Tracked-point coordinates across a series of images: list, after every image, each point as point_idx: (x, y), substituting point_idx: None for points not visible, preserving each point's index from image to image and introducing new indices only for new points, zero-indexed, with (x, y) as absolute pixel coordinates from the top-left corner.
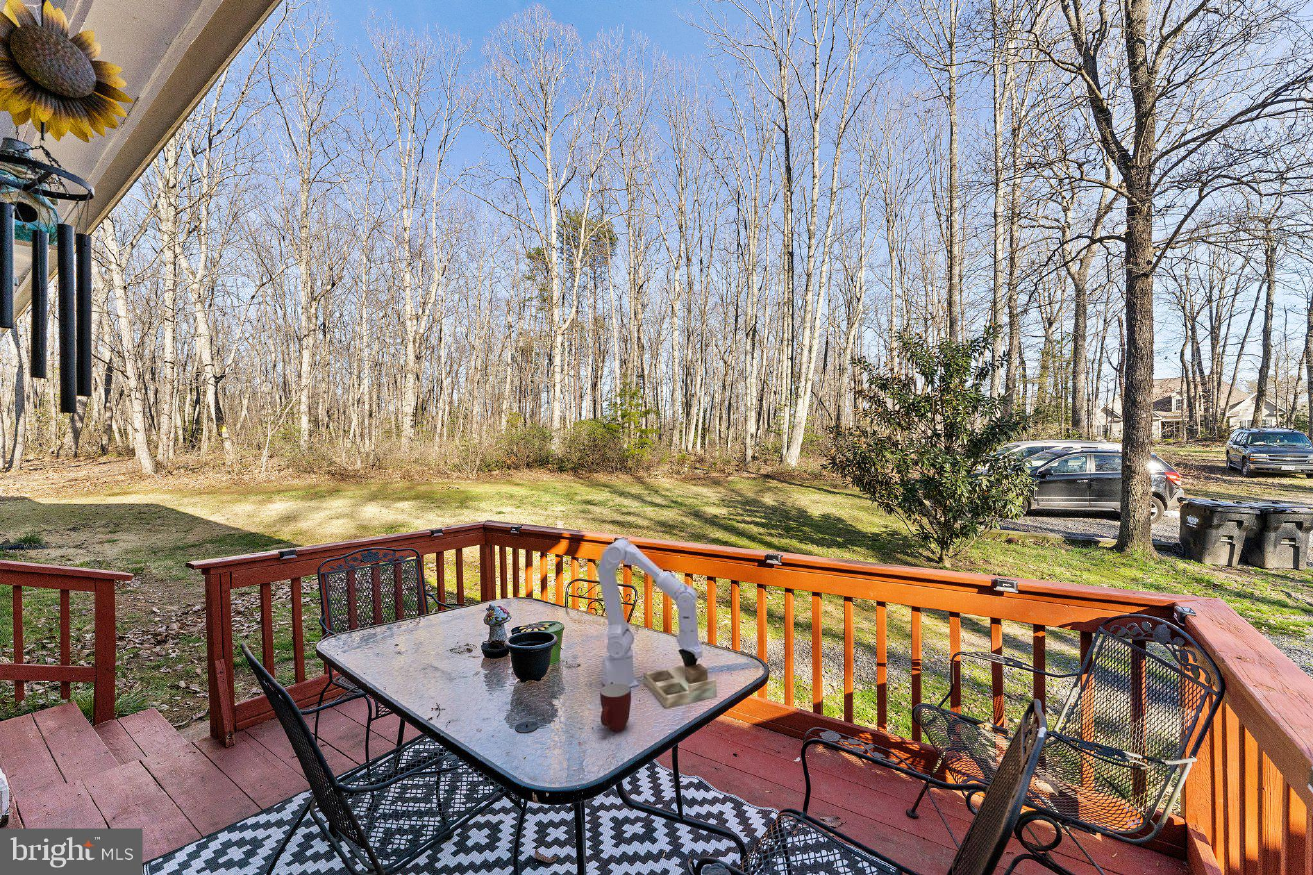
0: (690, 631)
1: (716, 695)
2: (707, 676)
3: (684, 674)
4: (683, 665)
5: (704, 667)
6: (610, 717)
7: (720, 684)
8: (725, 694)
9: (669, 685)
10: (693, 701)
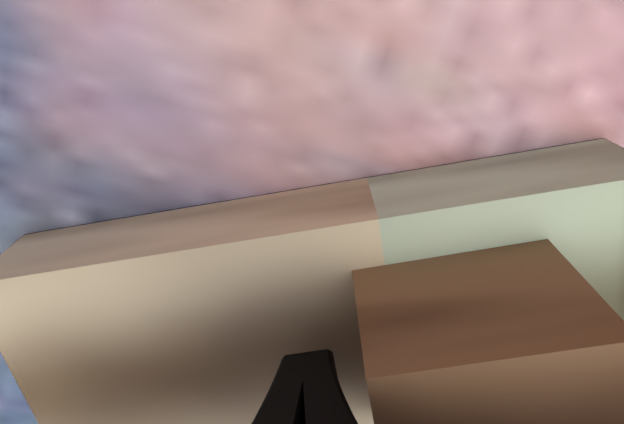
0: None
1: (611, 145)
2: (588, 284)
3: (242, 395)
4: (8, 362)
5: (539, 356)
6: None
7: (353, 16)
8: (600, 36)
9: None
10: None
